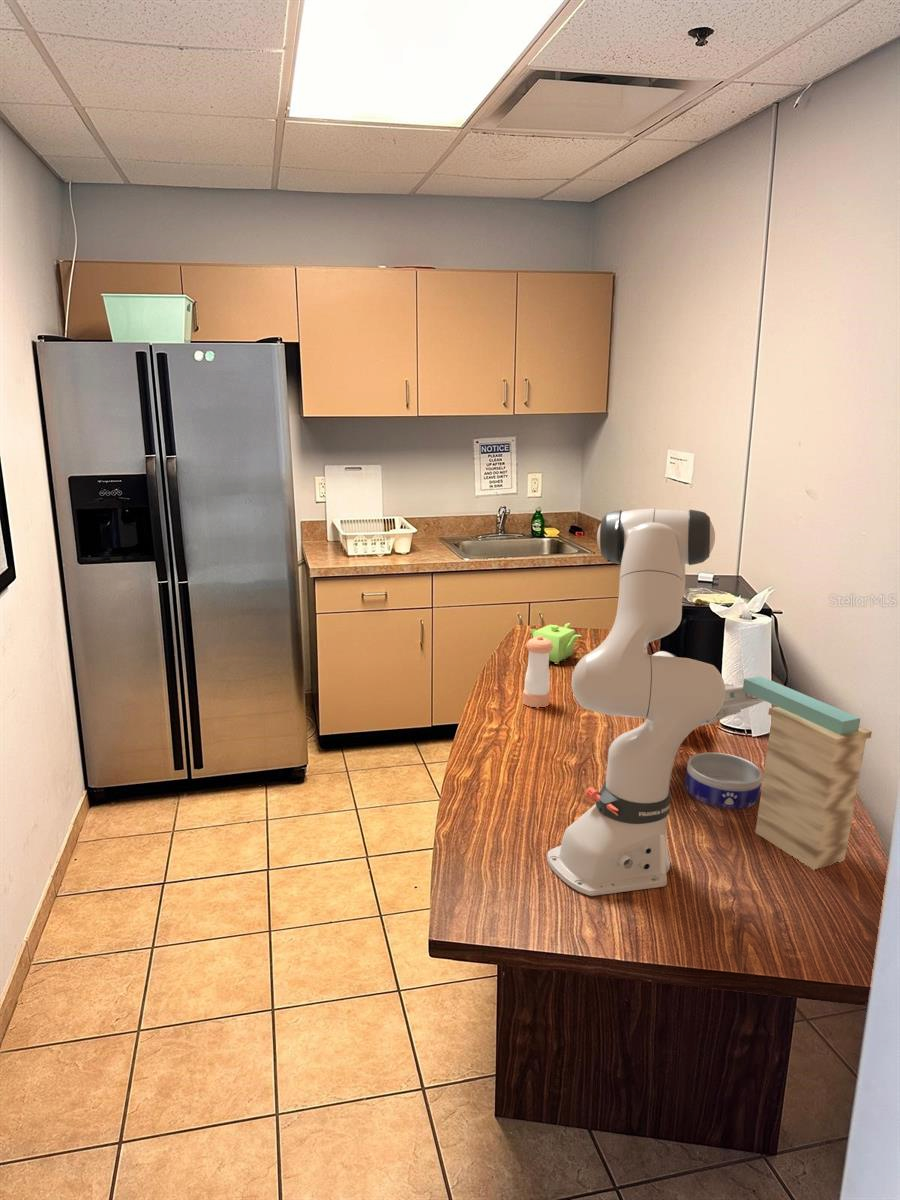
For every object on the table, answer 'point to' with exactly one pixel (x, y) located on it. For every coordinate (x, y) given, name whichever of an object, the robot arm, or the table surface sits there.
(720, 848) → the table surface
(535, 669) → the salt shaker
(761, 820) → the beige block
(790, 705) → the slat
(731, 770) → the dog bowl
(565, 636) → the kettle
